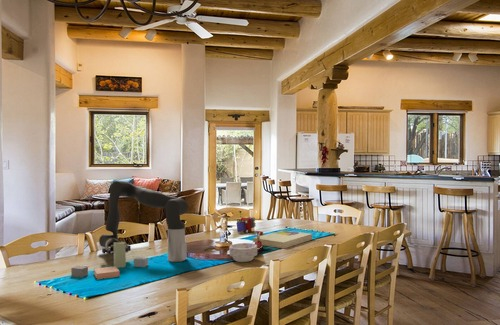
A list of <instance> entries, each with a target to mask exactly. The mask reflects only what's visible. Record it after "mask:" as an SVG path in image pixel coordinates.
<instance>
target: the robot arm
mask: <svg viewBox="0 0 500 325" xmlns="http://www.w3.org/2000/svg"><path fill="white" fill-rule="evenodd" d="M109 190H110V191H109V201H108V204H109V205H108V214H107V219H106V223H105V230H106V231H108V232H111V233H112V234H101V235H100V236H99V239H98V243H99V246H100V247H101V253H102V254H108V255H111V254H112V255H114V242H120V240H119V234H118V232H119V231H118V230H119V225H120V221H121V214H120V209H119V199H120V197H125V198H130V199H135V200H136V201H137V202H138V203H139V204H142V205H143V206H146V207H150V208H156V209H157V208H158V209H165V221H166V222H165V223H166V225H167V261H168V262H171V263H173V262H174V263H176V262H183V261H185V260H187V257H188V256H187V241H186V235H185V234H186V224H185V222H183V221H182V220H181V216H183V215H185V214H186V213H187V212H188V210H189V204H188V202H187V201H186V200H185V199H184V198H180V197H174V196H171V195H170V196H169V195H166V194H164V193H162V192H158V191H156V190H153V189H150V188H146V187H139V186H137V185H135V184H133V183H131V182H128V181H125V180H114V181H113V182H112V183H111V186H110V189H109ZM131 246H132V245H130V244H126V243H125V252H126V253H128V252H130V251H131Z"/></svg>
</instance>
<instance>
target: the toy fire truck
mask: <svg viewBox="0 0 500 325" xmlns="http://www.w3.org/2000/svg"><path fill="white" fill-rule="evenodd" d="M256 235H257V236H256V237H257V240H258V241H257V242H255V245H257V248H260V247H261V245H262V241H260V236H263V235H264V231H257V232H256ZM262 246H263V245H262Z"/></svg>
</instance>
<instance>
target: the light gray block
mask: <svg viewBox="0 0 500 325" xmlns="http://www.w3.org/2000/svg"><path fill="white" fill-rule="evenodd" d="M148 266H149V257H144V256H136V257H134V258H133V267H139V268H146V267H148Z"/></svg>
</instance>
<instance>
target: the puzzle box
mask: <svg viewBox="0 0 500 325" xmlns="http://www.w3.org/2000/svg"><path fill="white" fill-rule="evenodd" d="M252 241H253V242H257V241H258V240H257V236H255V237H252ZM260 241H262V244H263V245H262V246H264V247H270V248H271V247H272V248H278V249H286V248H290V247H292V246H296V245H300V244H302V243H305V242H310V241H313V234H312V233H309V232H308V233H306V232H300V231H289V230H279V231H275V232H272V233H267V234H263V236H260ZM253 242H252V243H253Z"/></svg>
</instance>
